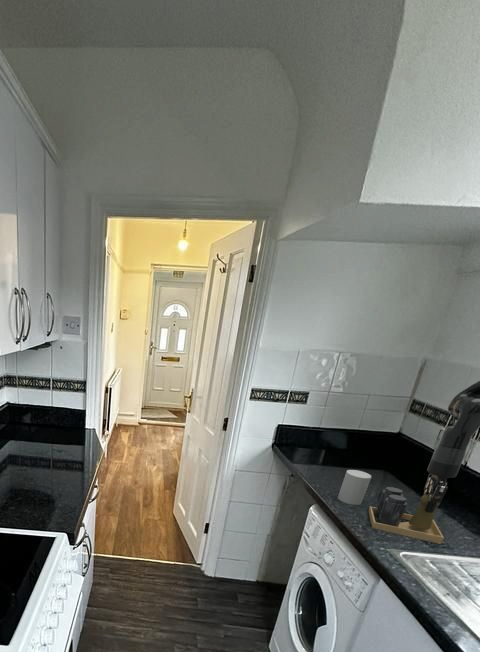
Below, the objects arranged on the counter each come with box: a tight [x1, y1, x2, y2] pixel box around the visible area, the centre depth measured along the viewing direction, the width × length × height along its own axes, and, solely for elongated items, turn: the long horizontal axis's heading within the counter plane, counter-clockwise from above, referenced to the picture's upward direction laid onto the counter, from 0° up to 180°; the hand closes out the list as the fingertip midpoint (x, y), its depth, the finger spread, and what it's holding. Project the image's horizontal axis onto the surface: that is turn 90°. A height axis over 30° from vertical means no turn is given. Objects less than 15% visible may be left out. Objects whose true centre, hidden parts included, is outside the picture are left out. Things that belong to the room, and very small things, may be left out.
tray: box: [367, 506, 445, 545], centre depth 141 cm, size 19×15×3 cm
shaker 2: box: [376, 495, 408, 527], centre depth 138 cm, size 6×6×11 cm
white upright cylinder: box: [337, 469, 372, 506], centre depth 157 cm, size 8×8×12 cm
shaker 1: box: [373, 486, 404, 519], centre depth 145 cm, size 6×6×11 cm
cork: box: [408, 494, 441, 530], centre depth 137 cm, size 6×6×11 cm
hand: (426, 508), depth 137 cm, fingers closed on cork, 5 cm apart
